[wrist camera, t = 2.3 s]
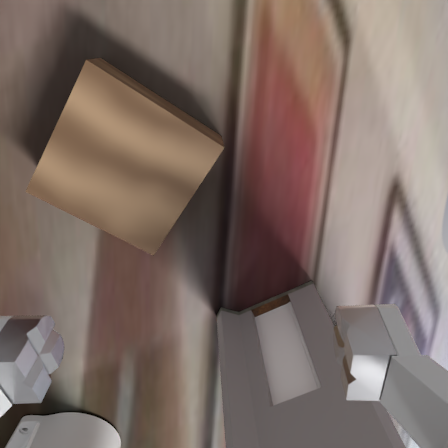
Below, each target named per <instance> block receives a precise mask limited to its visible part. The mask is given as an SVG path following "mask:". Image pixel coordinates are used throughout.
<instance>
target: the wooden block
mask: <svg viewBox="0 0 448 448" xmlns="http://www.w3.org/2000/svg"><path fill="white" fill-rule="evenodd" d="M223 149H224V144H223V140H222V136H221V135H219V134H218V133H216V132H215V131H213V130H211V129H210V128H208V127H207V126H205V125H204V124H202V123H201V122H199V121H197V120H196V119H194V118H193V117H191V116H190V115H188V114H187V113H185V112H184V111H182V110H180V109H179V108H177V107H176V106H174V105H173V104H171V103H170V102H168V101H166V100H165V99H163V98H162V97H160V96H159V95H157V94H156V93H154V92H153V91H151V90H149V89H148V88H146V87H145V86H143V85H142V84H140V83H139V82H137V81H136V80H134V79H132V78H131V77H129V76H128V75H126V74H125V73H123V72H122V71H120V70H118V69H117V68H115V67H114V66H112V65H111V64H109V63H108V62H106V61H105V60H103V59H101V58H95V59H87V60H86V61H85V63H84V66H83V68H82V70H81V72H80V74H79V76H78V79H77V81H76V83H75V85H74V87H73V90H72V92H71V94H70V96H69V98H68V100H67V103H66V105H65V107H64V109H63V111H62V113H61V116H60V118H59V120H58V122H57V124H56V126H55V129H54V131H53V133H52V135H51V137H50V139H49V142H48V144H47V146H46V148H45V150H44V153H43V155H42V157H41V159H40V161H39V163H38V166H37V168H36V170H35V172H34V174H33V176H32V179H31V181H30V183H29V185H28V187H27V189H26V192H27V193H29V194H31V195H33V196H35V197H37V198H39V199H41V200H43V201H45V202H47V203H49V204H51V205H53V206H55V207H57V208H59V209H61V210H63V211H65V212H67V213H69V214H71V215H73V216H75V217H77V218H79V219H81V220H83V221H85V222H87V223H89V224H91V225H93V226H95V227H97V228H99V229H101V230H103V231H105V232H107V233H109V234H111V235H113V236H115V237H117V238H119V239H121V240H123V241H125V242H127V243H129V244H131V245H133V246H135V247H137V248H139V249H141V250H143V251H145V252H147V253H149V254H151V255H153V256H154V254H155V253H156V251H157V250H158V248H159V247H160V245H161V244H162V242H163V240H164V239H165V237H166V236H167V234H168V233H169V231H170V230H171V228H172V227H173V225H174V224H175V222H176V221H177V219H178V218H179V216H180V215H181V213H182V212H183V210H184V208H185V207H186V205H187V204H188V202H189V201H190V199H191V198H192V196H193V195H194V193H195V192H196V190H197V189H198V187H199V186H200V184H201V183H202V181H203V180H204V178H205V176H206V175H207V173H208V172H209V170H210V169H211V167H212V166H213V164H214V163H215V161H216V160H217V158H218V157H219V155H220V154H221V152H222V151H223Z"/></svg>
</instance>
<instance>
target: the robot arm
mask: <svg viewBox="0 0 448 448" xmlns="http://www.w3.org/2000/svg"><path fill="white" fill-rule="evenodd" d="M335 319H336V323H337V325H336V326H335V327H334V328H333V346H334V352H335V357H336V361H337V363H338V364H339V365H340V366H342V367H341V375H340V378H341V381H342V385H343V389H344V393H345V397H346V400H362V401H380V403H381V404H382V405H383V407H384V408H385V409H386V410H387V411H388V412H389V413H390V414H391V415H392V417H393V418H394V419H395V420H396V421H397V422H398V423H399V424H400V426H401V427H402V428H403V429H404V430H405V431H406V432H407V433H408V435H409V436H410V437H411V438H412V439H413V440H414V441H415V442H416V444H417V445H418V446H419V447H420V448H448V371H447V370H446V369H445V368H443V367H442V366H441V365H439V364H438V363H437V362H435V361H434V360H433V359H431V358H430V357H429V356H427V355H421V354H420V352H419V350H418V348H417V346H416V344H415V342H414V340H413V338H412V336H411V333H410V331H409V329H408V327H407V325H406V323H405V321H404V319H403V317H402V315H401V313H400V311H399V309H398V307H397V306H396V305H395V304H382V305H355V306H337V307H336V310H335ZM54 326H55V323H54V321H53V319H52V318H51V316H0V417H1V416H2V415H3V414H4V413H5V412H6V411H7V410H8V409H9V408H10V407H11V406H12V404H23V403H41V402H42V400H43V398H44V396H45V394H46V392H47V390H48V388H49V386H50V384H51V382H52V379H51V375H50V374H51V373H52V372H53V371H54V370H55V369H57V368H58V367H59V365H60V363H61V361H62V358H63V353H64V342H63V339H62V337H61V334H59V333H58V332H56V331H55V330H53V328H54ZM120 447H121V440H120V436H119V434H118V432H117V431H116V430H115V428H114V427H113V426H111V425H110V424H109V423H107V422H106V421H104V420H102V419H100V418H98V417H95V416H92V415H88V414H84V413H75V412H66V413H58V414H53V415H48V416H38V415H27V416H24V417H22V419H21V420H20V422H19V424H18V426H17V427H16V429H15V431H14V433H13V434H12V436H11V438H10V439H9V441H8V443H7V445H6V446H5V448H120Z"/></svg>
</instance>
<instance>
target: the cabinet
mask: <svg viewBox="0 0 448 448" xmlns="http://www.w3.org/2000/svg"><path fill="white" fill-rule="evenodd" d="M333 328H334V325H333V323H332V320H331V318H330V316H329V314H328V312H327V310H326V308H325V306H324V304H323V302H322V300H321V298H320V296H319V294H318V292H317V290H316V288H315V286H314V283H313V281H310V282H307V283H305V284H303V285H300V286H298V287H296V288H293V289H291V290H289V291H286V292H284V293H282V294H279V295H277V296H275V297H272V298H270V299H268V300H265V301H263V302H261V303H258V304H256V305H254V306H251V307H249V308H247V309H244V310H242V311H240V312H236V311H233V310H229V309H225V308H222V307H221V308H220V310H219V312H218V314H217V329H218V343H219V357H220V371H221V385H222V399H223V413H224V427H225V441H226V448H406V447H405V445H404V443H403V441H402V440H401V438H400V436H399V434H398V432H397V430H396V428H395V426H394V424H393V422H392V420H391V418H390V416H389V414H388V412H387V410H386V409H385V408H384V407H383V405H382V404H381V403H380V401H362V400H346V397H345V393H344V389H343V385H342V381H341V378H340V375H341V367H342V366H340V365H339V364H338V363H337V361H336V357H335V352H334V346H333Z"/></svg>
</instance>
